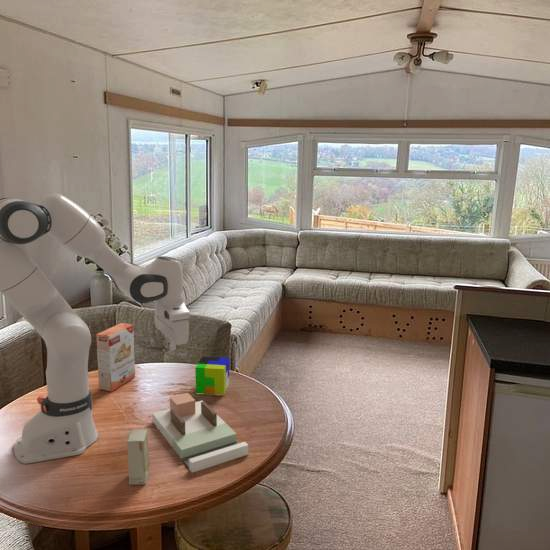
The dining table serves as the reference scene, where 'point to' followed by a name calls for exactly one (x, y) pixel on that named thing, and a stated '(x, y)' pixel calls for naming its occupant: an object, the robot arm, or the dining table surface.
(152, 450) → the dining table surface
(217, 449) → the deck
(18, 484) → the dining table surface
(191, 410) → the block
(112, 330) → the cracker box
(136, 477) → the skincare box
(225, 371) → the puzzle toy
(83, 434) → the robot arm
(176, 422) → the channel walls
